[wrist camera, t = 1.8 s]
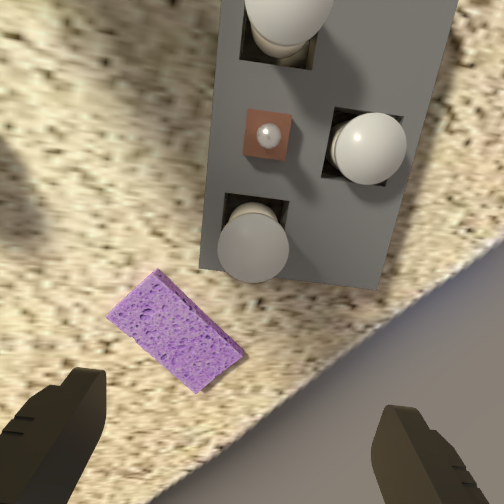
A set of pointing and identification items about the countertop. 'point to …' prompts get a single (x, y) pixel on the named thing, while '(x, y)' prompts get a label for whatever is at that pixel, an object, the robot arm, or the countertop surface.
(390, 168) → the knob side
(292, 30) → the knob
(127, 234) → the countertop surface
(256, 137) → the brown boxy piece
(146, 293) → the sponges
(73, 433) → the robot arm
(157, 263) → the countertop surface
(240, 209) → the knob
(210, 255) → the mount
